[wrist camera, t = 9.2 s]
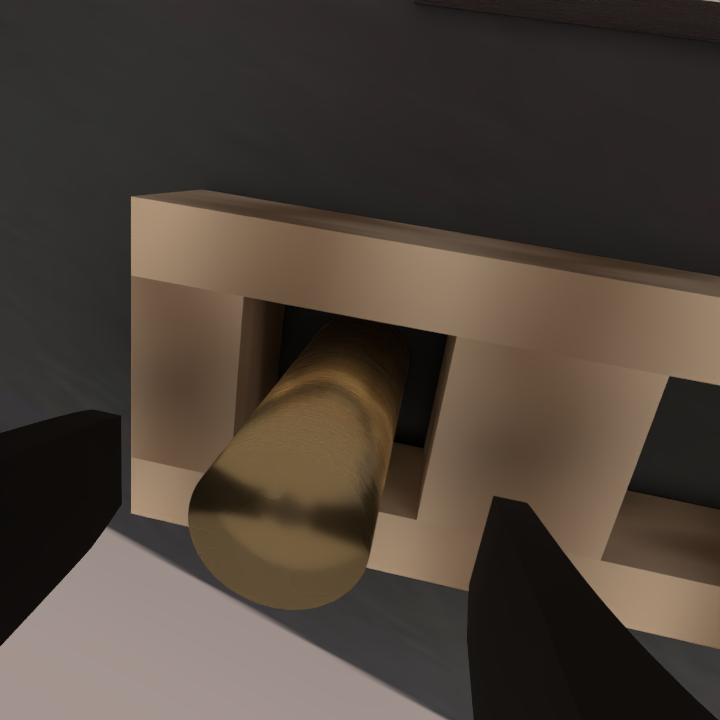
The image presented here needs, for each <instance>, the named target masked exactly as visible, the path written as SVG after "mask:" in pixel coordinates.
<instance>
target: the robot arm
mask: <svg viewBox="0 0 720 720" xmlns="http://www.w3.org/2000/svg"><path fill="white" fill-rule="evenodd" d="M121 504H122V488H121V416H120V415H116V414H111V413H106V412H102V411H97V410H92V409H91V410H86V411H80V412H75V413H71V414H67V415H63V416H59V417H55V418H52V419H48V420H44V421H41V422H37V423H34V424H30V425H27V426H23V427H20V428H16V429H13V430H9V431H6V432H2V433H0V646H1V645H2V644H3V643H4V642H5V641H6V640H7V639H8V638H9V636H10V635H11V634H12V633H13V632H14V631H15V630H16V629H17V628H18V627H19V626H20V625H21V624H22V622H23V621H24V620H25V619H26V618H27V617H28V616H29V615H30V614H31V613H32V612H33V611H34V610H35V608H36V607H37V606H38V605H39V604H40V603H41V602H42V601H43V600H44V599H45V598H46V597H47V596H48V595H49V593H50V592H51V591H52V590H53V589H54V588H55V587H56V586H57V585H58V584H59V583H60V582H61V580H62V579H63V578H64V577H65V576H66V575H67V574H68V573H69V572H70V571H71V570H72V568H73V567H74V566H75V565H76V564H77V563H78V562H79V561H80V560H81V559H82V557H83V556H84V555H85V554H86V553H87V552H88V551H89V550H90V548H91V547H92V546H93V545H94V543H95V542H96V540H97V539H98V538H99V536H100V535H101V534H102V532H103V531H104V530H105V528H106V527H107V525H108V524H109V522H110V521H111V519H112V518H113V516H114V515H115V513H116V512H117V510H118V509H119V507H120V506H121ZM467 643H468V656H469V668H470V681H471V692H472V704H473V715H474V720H718V719H717V718H716V717H714V716H713V715H712V714H711V713H710V712H709V711H708V710H707V709H706V708H705V707H704V706H703V705H702V704H700V703H699V702H698V701H697V700H696V699H695V698H694V697H693V696H692V695H691V694H690V693H689V692H688V691H687V690H686V689H685V688H684V687H683V686H682V685H681V684H680V683H679V682H678V681H677V680H676V679H675V678H674V677H673V676H672V675H671V674H670V673H669V672H668V671H667V670H666V669H665V668H664V667H663V666H662V665H661V664H660V663H659V662H658V661H657V660H656V659H655V658H654V657H653V656H652V655H651V654H650V653H649V652H648V651H647V650H646V649H645V648H644V647H643V646H642V645H641V644H640V643H639V642H638V641H637V640H636V638H635V637H634V636H633V635H632V634H631V633H630V632H629V631H628V630H627V628H626V627H625V626H624V625H623V624H622V623H621V622H620V620H619V619H618V618H617V617H616V616H615V615H614V614H613V612H612V611H611V610H610V609H609V608H608V607H607V606H606V604H605V603H604V602H603V601H602V600H601V598H600V597H599V596H598V595H597V594H596V592H595V591H594V590H593V589H592V588H591V586H590V585H589V584H588V583H587V581H586V580H585V579H584V578H583V576H582V575H581V574H580V572H579V571H578V570H577V569H576V567H575V566H574V565H573V563H572V562H571V561H570V559H569V558H568V557H567V555H566V554H565V553H564V552H563V550H562V549H561V547H560V546H559V545H558V543H557V542H556V541H555V539H554V538H553V537H552V535H551V534H550V533H549V531H548V530H547V528H546V527H545V526H544V524H543V523H542V522H541V520H540V519H539V517H538V516H537V515H536V513H535V512H534V511H533V509H532V508H531V507H530V505H529V504H528V503H526V502H521V501H517V500H512V499H507V498H503V497H498V496H493V499H492V502H491V506H490V510H489V513H488V517H487V521H486V524H485V528H484V531H483V535H482V539H481V542H480V546H479V550H478V553H477V557H476V561H475V564H474V568H473V572H472V575H471V579H470V583H469V595H468V623H467Z"/></svg>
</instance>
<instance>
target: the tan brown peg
mask: <svg viewBox="0 0 720 720" xmlns="http://www.w3.org/2000/svg"><path fill="white" fill-rule="evenodd" d="M408 369H409V354H408V349H407V346H406V343H405V341H404V339H403V337H402V336H401V334H400V333H399V332H398V330H397V329H396V328H395V327H394V326H393V325H392V324H388V323H383V322H378V321H372V320H367V319H362V318H356V317H351V316H345V315H338V316H336V317H334V318H333V319H331V320H329V321H328V322H327V323H326V324H325V325H324V326H323V327H322V328H321V329H320V330H319V331H318V333H317V334H316V335H315V336H314V338H313V339H312V340H311V341H310V343H309V344H308V345H307V346H306V348H305V349H304V350H303V351H302V353H301V354H300V355H299V356H298V358H297V359H296V360H295V361H294V362H293V364H292V365H291V366H290V367H289V369H288V370H287V371H286V372H285V374H284V375H283V376H282V377H281V379H280V380H279V381H278V382H277V384H276V385H275V386H274V387H273V389H272V390H271V391H270V392H269V394H268V395H267V396H266V397H265V399H264V400H263V401H262V402H261V404H260V405H259V406H258V407H257V409H256V410H255V411H254V412H253V414H252V415H251V416H250V417H249V419H248V420H247V421H246V422H245V424H244V425H243V426H242V427H241V429H240V430H239V431H238V432H237V434H236V435H235V436H234V437H233V439H232V440H231V441H230V442H229V444H228V445H227V446H226V447H225V449H224V450H223V451H222V452H221V454H220V455H219V456H218V457H217V459H216V460H215V461H214V462H213V464H212V465H211V466H210V467H209V469H208V470H207V471H206V472H205V474H204V475H203V476H202V478H201V479H200V480H199V482H198V483H197V485H196V487H195V489H194V491H193V493H192V496H191V499H190V503H189V509H188V525H189V531H190V535H191V539H192V542H193V544H194V547H195V549H196V551H197V553H198V555H199V556H200V558H201V560H202V561H203V563H204V564H205V565H206V567H207V568H208V569H209V571H210V572H211V573H212V574H213V575H214V576H215V577H216V578H217V579H218V580H219V581H220V582H222V583H223V584H224V585H225V586H226V587H228V588H229V589H231V590H232V591H234V592H235V593H237V594H239V595H241V596H242V597H244V598H246V599H248V600H251V601H253V602H256V603H258V604H262V605H265V606H268V607H273V608H278V609H288V610H302V609H310V608H315V607H319V606H323V605H325V604H328V603H330V602H333V601H335V600H337V599H338V598H340V597H342V596H343V595H344V594H346V593H347V592H348V591H350V590H351V589H352V588H353V587H354V586H355V584H356V583H357V582H358V581H359V579H360V578H361V576H362V575H363V573H364V571H365V569H366V567H367V564H368V560H369V557H370V552H371V548H372V543H373V538H374V533H375V528H376V523H377V519H378V514H379V509H380V504H381V499H382V495H383V490H384V485H385V480H386V475H387V470H388V466H389V461H390V456H391V451H392V446H393V442H394V437H395V432H396V427H397V422H398V417H399V413H400V408H401V403H402V398H403V393H404V389H405V384H406V379H407V374H408Z"/></svg>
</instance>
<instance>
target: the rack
mask: <svg viewBox="0 0 720 720" xmlns="http://www.w3.org/2000/svg"><path fill="white" fill-rule="evenodd" d="M285 304H286V305H292V306H297V307H303V308H308V309H313V310H319V311H324V312H329V313H335V314H340V315H345V316H351V317H356V318H362V319H367V320H372V321H378V322H383V323H388V324H394V325H399V326H404V327H410V328H415V329H421V330H426V331H431V332H437V333H442V334H447V335H448V337H447V342H446V346H445V351H444V356H443V360H442V365H441V370H440V374H439V379H438V384H437V388H436V393H435V398H434V402H433V407H432V412H431V416H430V421H429V426H428V430H427V435H426V440H425V445H424V448H420V447H415V446H410V445H406V444H401V443H396V442H393V446H392V451H391V456H390V461H389V466H388V470H387V475H386V480H385V485H384V490H383V495H382V499H381V504H380V509H379V514H378V519H377V523H376V528H375V533H374V538H373V543H372V548H371V552H370V557H369V560H368V564H367V567H366V568H370V569H375V570H379V571H383V572H388V573H392V574H396V575H401V576H405V577H409V578H414V579H418V580H422V581H427V582H431V583H435V584H440V585H444V586H448V587H453V588H457V589H462V590H466V591H469V583H470V579H471V575H472V572H473V568H474V564H475V561H476V557H477V553H478V550H479V546H480V542H481V539H482V535H483V531H484V528H485V524H486V521H487V517H488V513H489V510H490V506H491V502H492V499H493V496H498V497H503V498H507V499H512V500H517V501H521V502H526V503H528V504H529V505H530V507H531V508H532V509H533V511H534V512H535V513H536V515H537V516H538V517H539V519H540V520H541V522H542V523H543V524H544V526H545V527H546V528H547V530H548V531H549V533H550V534H551V535H552V537H553V538H554V539H555V541H556V542H557V543H558V545H559V546H560V547H561V549H562V550H563V552H564V553H565V554H566V555H567V557H568V558H569V559H570V561H571V562H572V563H573V565H574V566H575V567H576V569H577V570H578V571H579V572H580V574H581V575H582V576H583V578H584V579H585V580H586V581H587V583H588V584H589V585H590V586H591V588H592V589H593V590H594V591H595V592H596V594H597V595H598V596H599V597H600V598H601V600H602V601H603V602H604V603H605V604H606V606H607V607H608V608H609V609H610V610H611V611H612V612H613V614H614V615H615V616H616V617H617V618H618V619H619V620H620V622H621V623H622V624H623V625H624V626H625V627H626V628H631V629H635V630H639V631H644V632H648V633H652V634H657V635H661V636H665V637H670V638H674V639H678V640H683V641H687V642H691V643H696V644H700V645H704V646H709V647H713V648H717V649H720V510H719V509H714V508H710V507H705V506H700V505H695V504H690V503H685V502H681V501H676V500H671V499H666V498H661V497H657V496H652V495H647V494H642V493H637V492H632V491H628V490H627V488H628V485H629V483H630V480H631V477H632V475H633V472H634V469H635V467H636V464H637V461H638V458H639V456H640V453H641V450H642V448H643V445H644V442H645V440H646V437H647V434H648V432H649V429H650V426H651V424H652V421H653V418H654V416H655V413H656V410H657V408H658V405H659V402H660V400H661V397H662V394H663V392H664V389H665V386H666V384H667V381H668V378H669V376H673V377H678V378H683V379H689V380H694V381H699V382H705V383H710V384H715V385H720V277H719V276H713V275H708V274H702V273H696V272H690V271H684V270H678V269H672V268H666V267H660V266H654V265H648V264H642V263H636V262H630V261H624V260H618V259H613V258H607V257H601V256H595V255H589V254H583V253H577V252H571V251H565V250H559V249H553V248H547V247H541V246H535V245H529V244H523V243H517V242H512V241H506V240H500V239H494V238H488V237H482V236H476V235H470V234H464V233H458V232H452V231H446V230H440V229H434V228H428V227H422V226H417V225H411V224H405V223H399V222H393V221H387V220H381V219H375V218H369V217H363V216H357V215H351V214H345V213H339V212H333V211H327V210H321V209H316V208H310V207H304V206H298V205H292V204H286V203H280V202H274V201H268V200H262V199H256V198H250V197H244V196H238V195H232V194H226V193H221V192H215V191H209V190H192V191H182V192H172V193H161V194H151V195H140V196H131V513H132V514H136V515H140V516H145V517H149V518H154V519H158V520H162V521H167V522H171V523H175V524H180V525H184V526H188V527H189V525H188V509H189V503H190V499H191V496H192V493H193V491H194V489H195V487H196V485H197V483H198V482H199V480H200V479H201V478H202V476H203V475H204V474H205V472H206V471H207V470H208V469H209V467H210V466H211V465H212V464H213V462H214V461H215V460H216V459H217V457H218V456H219V455H220V454H221V452H222V451H223V450H224V449H225V447H226V446H227V445H228V444H229V442H230V441H231V440H232V439H233V437H234V436H235V435H236V434H237V432H238V431H239V430H240V429H241V427H242V426H243V425H244V424H245V422H246V421H247V420H248V419H249V417H250V416H251V415H252V414H253V412H254V411H255V410H256V409H257V407H258V406H259V405H260V404H261V402H262V401H263V400H264V399H265V397H266V396H267V395H268V394H269V392H270V391H271V390H272V389H273V387H274V386H275V385H276V384H277V380H278V371H279V361H280V351H281V341H282V331H283V321H284V312H285Z"/></svg>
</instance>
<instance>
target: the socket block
mask: <svg viewBox="0 0 720 720" xmlns="http://www.w3.org/2000/svg"><path fill="white" fill-rule="evenodd" d="M414 2H415V3H416V4H424V5H431V6H439V7H447V8H455V9H462V10H470V11H478V12H486V13H493V14H501V15H509V16H516V17H524V18H532V19H540V20H547V21H555V22H563V23H571V24H578V25H586V26H594V27H602V28H609V29H617V30H625V31H632V32H640V33H648V34H656V35H663V36H671V37H679V38H687V39H694V40H702V41H710V42H717V43H720V0H414Z"/></svg>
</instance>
